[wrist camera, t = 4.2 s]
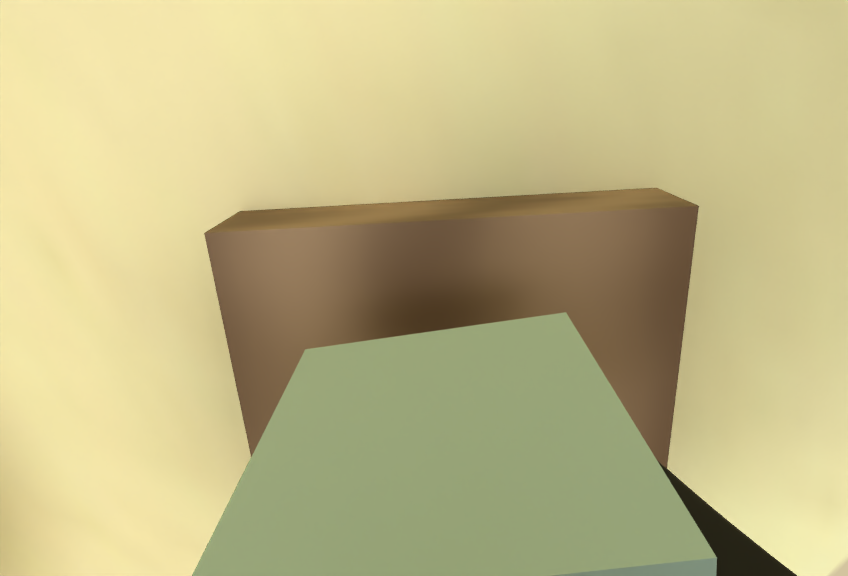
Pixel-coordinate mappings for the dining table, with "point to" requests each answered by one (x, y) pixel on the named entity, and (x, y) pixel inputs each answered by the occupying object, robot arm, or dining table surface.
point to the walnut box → (461, 284)
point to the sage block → (455, 466)
